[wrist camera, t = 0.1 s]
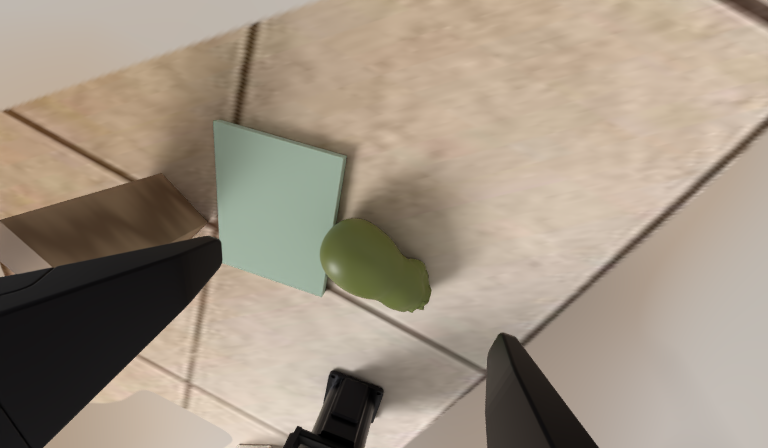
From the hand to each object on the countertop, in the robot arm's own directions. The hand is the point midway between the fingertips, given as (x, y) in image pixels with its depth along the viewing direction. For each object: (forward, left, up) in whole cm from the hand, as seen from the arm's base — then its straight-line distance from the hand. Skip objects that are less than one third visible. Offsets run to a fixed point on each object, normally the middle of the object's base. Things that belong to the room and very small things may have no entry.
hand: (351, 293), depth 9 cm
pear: (-8, +1, -15) cm, 17 cm away
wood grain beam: (-10, +22, -15) cm, 28 cm away
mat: (-7, +11, -15) cm, 20 cm away
